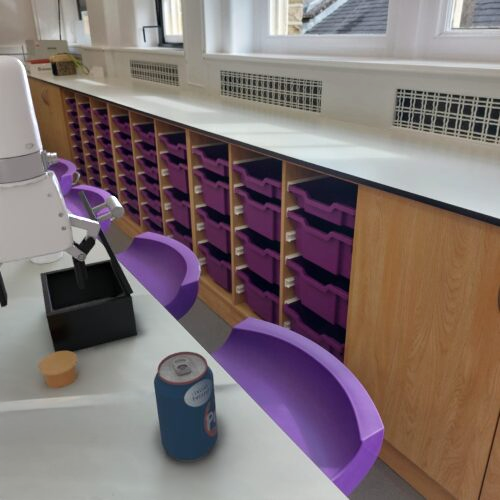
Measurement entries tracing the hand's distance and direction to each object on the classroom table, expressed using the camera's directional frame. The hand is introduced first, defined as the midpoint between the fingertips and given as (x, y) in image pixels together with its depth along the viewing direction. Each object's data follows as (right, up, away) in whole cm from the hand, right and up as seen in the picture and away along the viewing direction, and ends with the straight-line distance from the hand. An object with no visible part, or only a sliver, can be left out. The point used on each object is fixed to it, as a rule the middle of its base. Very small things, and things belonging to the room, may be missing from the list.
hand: (43, 293), depth 65 cm
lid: (+3, +7, +15) cm, 17 cm away
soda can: (+20, -19, -4) cm, 28 cm away
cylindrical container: (-20, +4, +48) cm, 52 cm away
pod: (0, -14, +7) cm, 16 cm away
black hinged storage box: (0, -8, +20) cm, 22 cm away
